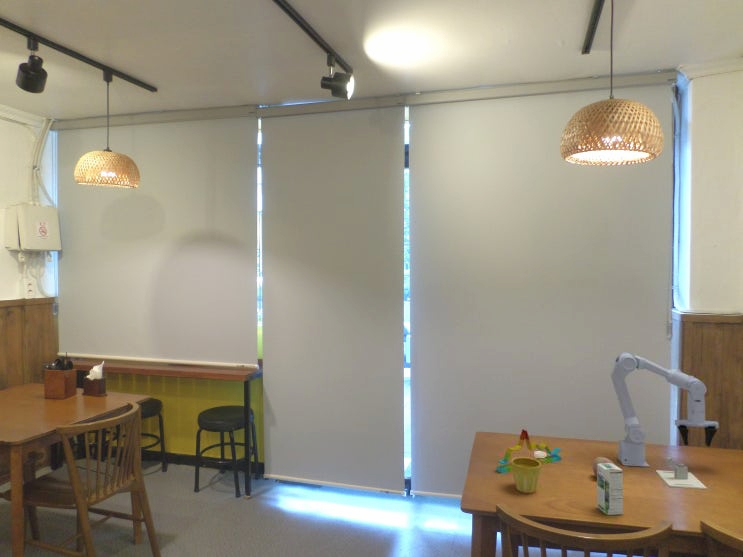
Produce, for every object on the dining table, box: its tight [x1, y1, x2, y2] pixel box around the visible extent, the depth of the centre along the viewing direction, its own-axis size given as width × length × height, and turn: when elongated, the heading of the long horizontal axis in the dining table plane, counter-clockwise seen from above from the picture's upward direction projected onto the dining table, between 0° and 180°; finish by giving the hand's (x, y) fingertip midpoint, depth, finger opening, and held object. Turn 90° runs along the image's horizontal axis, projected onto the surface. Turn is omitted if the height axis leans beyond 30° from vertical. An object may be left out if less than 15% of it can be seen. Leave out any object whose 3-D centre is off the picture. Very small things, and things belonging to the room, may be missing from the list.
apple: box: [592, 456, 615, 477], centre depth 183 cm, size 8×8×8 cm
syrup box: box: [596, 463, 624, 516], centre depth 158 cm, size 6×6×14 cm
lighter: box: [665, 455, 689, 479], centre depth 181 cm, size 7×2×8 cm, turn 87°
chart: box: [496, 428, 562, 474], centre depth 197 cm, size 30×3×15 cm, turn 114°
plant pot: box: [510, 456, 542, 494], centre depth 176 cm, size 10×10×10 cm
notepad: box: [655, 469, 708, 490], centre depth 181 cm, size 12×14×1 cm
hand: (696, 445), depth 190 cm, fingers open, 7 cm apart
